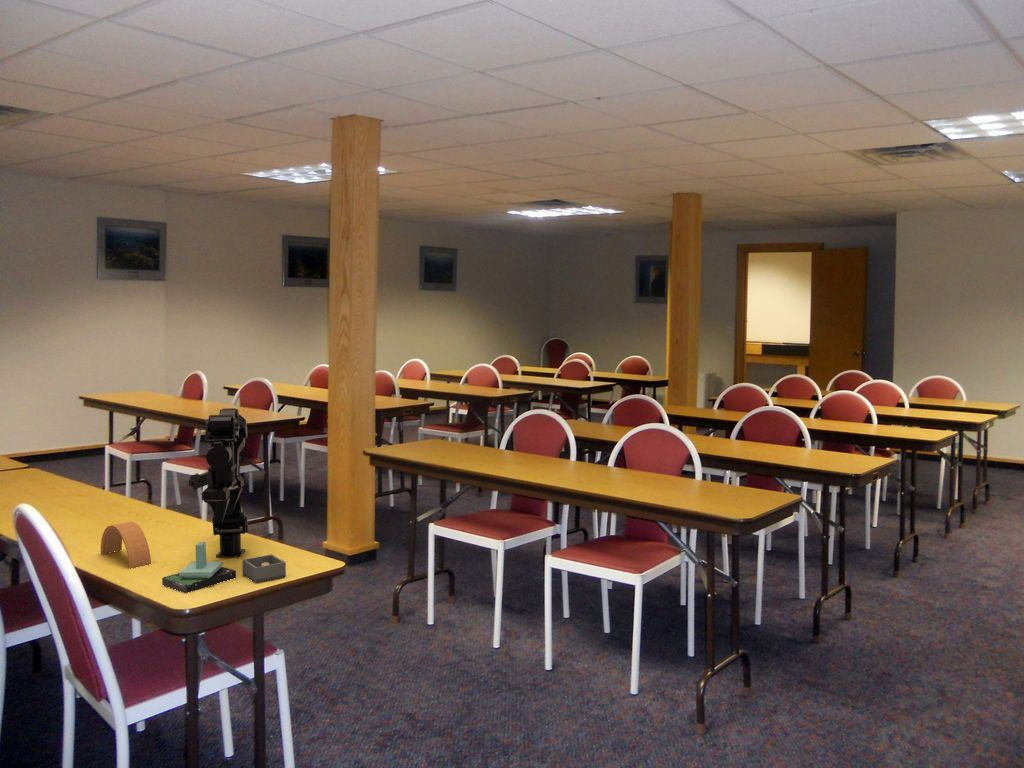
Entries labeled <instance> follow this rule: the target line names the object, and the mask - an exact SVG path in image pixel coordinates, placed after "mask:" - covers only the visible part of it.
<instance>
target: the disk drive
mask: <svg viewBox="0 0 1024 768" xmlns="http://www.w3.org/2000/svg"><path fill="white" fill-rule="evenodd" d="M234 578H235V579H237V571H236V570H235V569H232V568H229V567H224V566H222V567H221V568H220V569H219V570H218V571H217V572H216V573H214V574H213V575H212V576H211V577H210V578H184V576H180V577H179V572H178V573H173V574H171V575H168V576H167V575H166V576H164V577H163V576H162V579H161V581H162V582H161V584H162V585H164V586H163V587H165V586H167V587H166V588H168V587H170V588H169V589H171V588H173V589H172V590H174V589H176V590H175V591H177V590H178V591H177V592H180V591H181V593H183V592H184V593H183V594H188V592H189V593H192V592H195V590H196V591H199V590H202V589H205V587H206V588H208V586H209V587H211V585H212V586H215V585H218V584H217V583H219V584H221V583H220V582H222V583H224V582H223V581H225V582H228V581H227V580H229V581H231V580H230V579H232V580H235V579H234ZM214 584H215V585H214ZM191 591H192V592H191Z"/></svg>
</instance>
